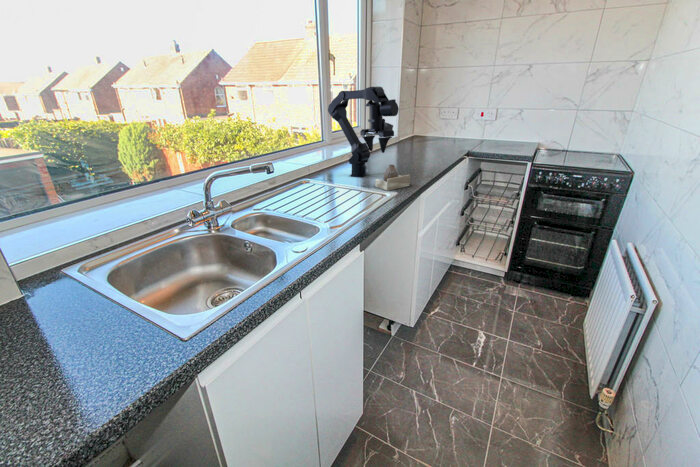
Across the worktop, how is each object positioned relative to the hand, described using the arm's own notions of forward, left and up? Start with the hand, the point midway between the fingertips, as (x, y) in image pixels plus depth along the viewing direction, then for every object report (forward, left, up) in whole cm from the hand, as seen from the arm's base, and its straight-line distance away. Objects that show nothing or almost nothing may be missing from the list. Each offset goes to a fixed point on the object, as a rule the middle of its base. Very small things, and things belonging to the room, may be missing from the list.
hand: (377, 151), depth 154 cm
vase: (+9, -9, -13) cm, 18 cm away
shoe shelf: (+10, -10, -13) cm, 19 cm away
